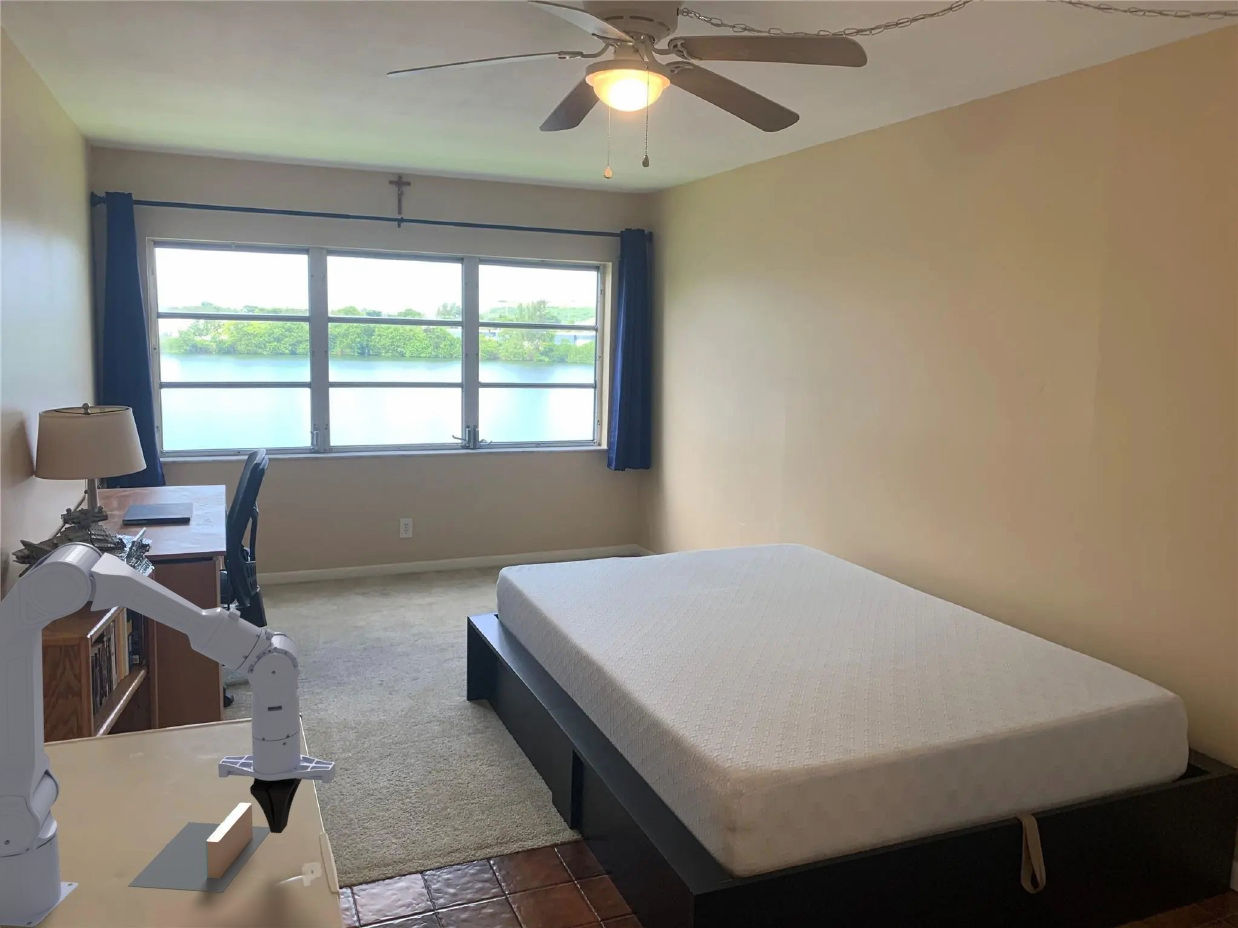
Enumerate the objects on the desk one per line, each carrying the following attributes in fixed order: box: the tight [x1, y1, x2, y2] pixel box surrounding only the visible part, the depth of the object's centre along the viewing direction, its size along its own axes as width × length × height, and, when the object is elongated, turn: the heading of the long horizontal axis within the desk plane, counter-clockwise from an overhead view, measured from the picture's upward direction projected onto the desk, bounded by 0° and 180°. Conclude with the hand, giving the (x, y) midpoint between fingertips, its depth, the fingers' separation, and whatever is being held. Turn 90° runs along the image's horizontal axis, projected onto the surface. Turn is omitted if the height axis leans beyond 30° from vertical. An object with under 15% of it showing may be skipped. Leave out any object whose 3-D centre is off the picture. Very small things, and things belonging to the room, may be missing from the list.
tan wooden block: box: [206, 801, 253, 878], centre depth 113 cm, size 2×9×5 cm, turn 178°
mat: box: [127, 821, 271, 893], centre depth 113 cm, size 12×14×1 cm
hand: (279, 828), depth 112 cm, fingers closed
